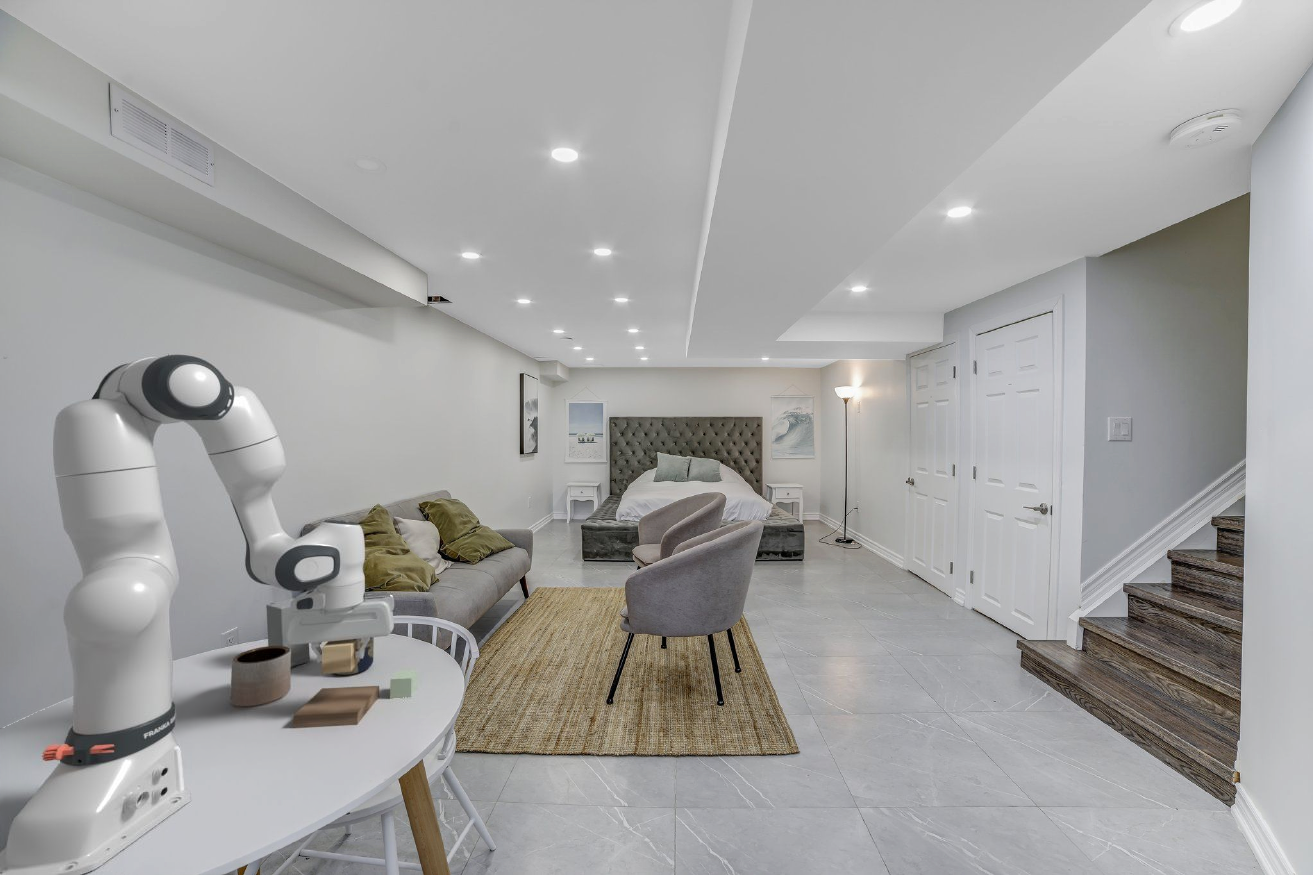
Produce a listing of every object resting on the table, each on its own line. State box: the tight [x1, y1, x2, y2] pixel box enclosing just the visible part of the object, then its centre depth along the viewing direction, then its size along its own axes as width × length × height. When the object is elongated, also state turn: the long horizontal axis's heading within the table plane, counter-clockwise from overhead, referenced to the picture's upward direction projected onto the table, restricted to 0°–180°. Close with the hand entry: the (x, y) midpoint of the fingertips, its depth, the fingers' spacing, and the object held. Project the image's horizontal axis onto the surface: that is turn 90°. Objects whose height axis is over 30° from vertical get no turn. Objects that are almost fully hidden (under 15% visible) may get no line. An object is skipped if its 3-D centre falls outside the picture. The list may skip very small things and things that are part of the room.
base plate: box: [293, 685, 380, 729], centre depth 115 cm, size 12×12×2 cm
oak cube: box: [321, 639, 360, 675], centre depth 115 cm, size 6×6×6 cm
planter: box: [229, 645, 292, 708], centre depth 121 cm, size 11×11×10 cm
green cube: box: [389, 669, 418, 700], centre depth 123 cm, size 4×4×4 cm
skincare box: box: [265, 597, 311, 668], centre depth 139 cm, size 8×7×16 cm
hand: (341, 659), depth 115 cm, fingers closed on oak cube, 6 cm apart
